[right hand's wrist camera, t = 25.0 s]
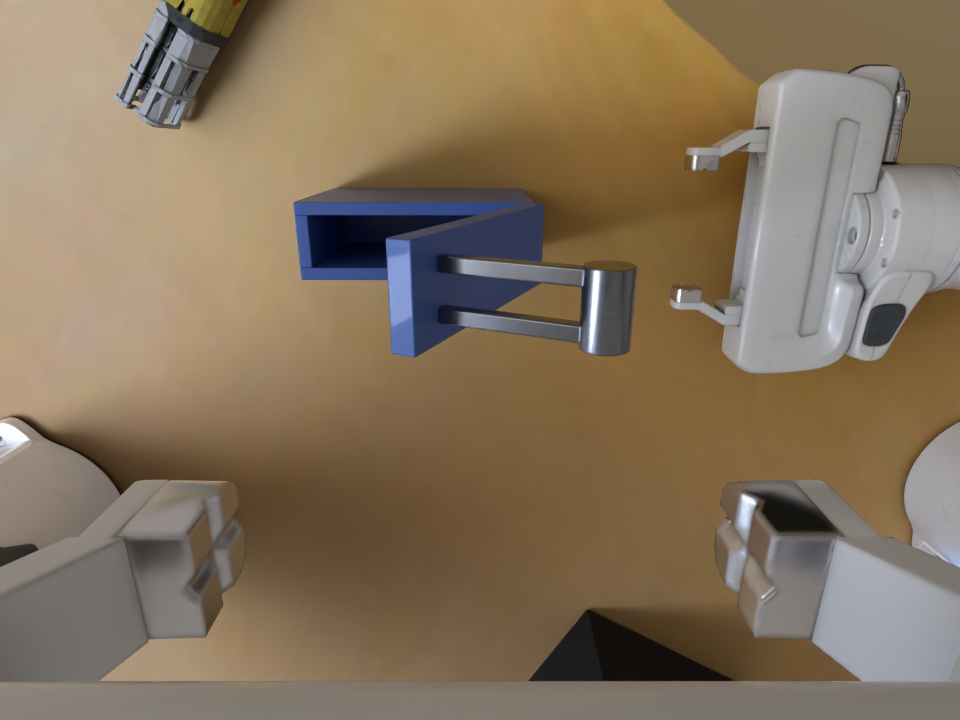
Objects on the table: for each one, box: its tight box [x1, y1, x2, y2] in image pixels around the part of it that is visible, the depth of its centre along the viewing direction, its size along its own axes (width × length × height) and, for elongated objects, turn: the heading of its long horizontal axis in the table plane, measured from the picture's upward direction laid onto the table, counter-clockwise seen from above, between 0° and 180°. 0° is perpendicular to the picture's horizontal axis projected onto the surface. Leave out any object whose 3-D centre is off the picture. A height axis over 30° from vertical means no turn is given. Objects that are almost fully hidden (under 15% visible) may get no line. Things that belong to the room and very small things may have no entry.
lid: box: [386, 203, 638, 357], centre depth 28 cm, size 15×5×9 cm
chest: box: [294, 188, 534, 280], centre depth 42 cm, size 14×5×11 cm, turn 90°
